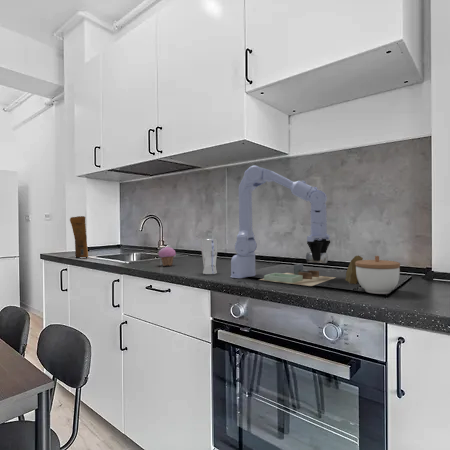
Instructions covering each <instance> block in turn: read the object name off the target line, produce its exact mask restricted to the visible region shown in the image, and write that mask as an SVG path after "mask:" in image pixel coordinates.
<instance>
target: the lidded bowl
mask: <svg viewBox="0 0 450 450" xmlns="http://www.w3.org/2000/svg"><path fill="white" fill-rule="evenodd" d="M355 265H356V275H357V280H358V282H357V283H358V284H359V285H360V287H361V288H362V289H364V291H365V292H366V293H367V294H368V293H369V294H376V295H387V294H391V292H392V291H393V290H394V289H395V288H396V287H397V285H398V283H399V280H400V275H401V274H400V273H401V270H400V269H401V262H398V261H395V260H388V259H387V260H385V259H380V255H375V256H374V259H363V260H360V261H356V262H355Z"/></svg>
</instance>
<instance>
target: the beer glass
mask: <svg viewBox="0 0 450 450" xmlns="http://www.w3.org/2000/svg"><path fill="white" fill-rule="evenodd" d="M217 240H218V239H217V238H202V239H201V247H200V248H201V257H202V261H203V262H202V263H203V271H202V274H203V275H216V274H218V272H217V271H218V270H217V266H216V265H217V256H218V241H217Z"/></svg>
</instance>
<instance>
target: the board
mask: <svg viewBox="0 0 450 450" xmlns="http://www.w3.org/2000/svg"><path fill="white" fill-rule="evenodd" d="M283 274H293V275H294V272H293V273H292V272H285V273H283ZM336 278H337V277H334V276H326V275H325V276H323V275H319V277H312V279H303V280H301V281H297V282H294V283H288V282H279V281H272V282H275V283H281V284H282V283H283V284H292V285H299V286H300V285H301V286H306V287H307V286H308V287H313V286H316V285H319V284H321V283H325V282H328V281H330V280H334V279H336ZM258 281H265V282H271V281H270V280H264V277H263V278H260V279H258Z"/></svg>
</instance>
